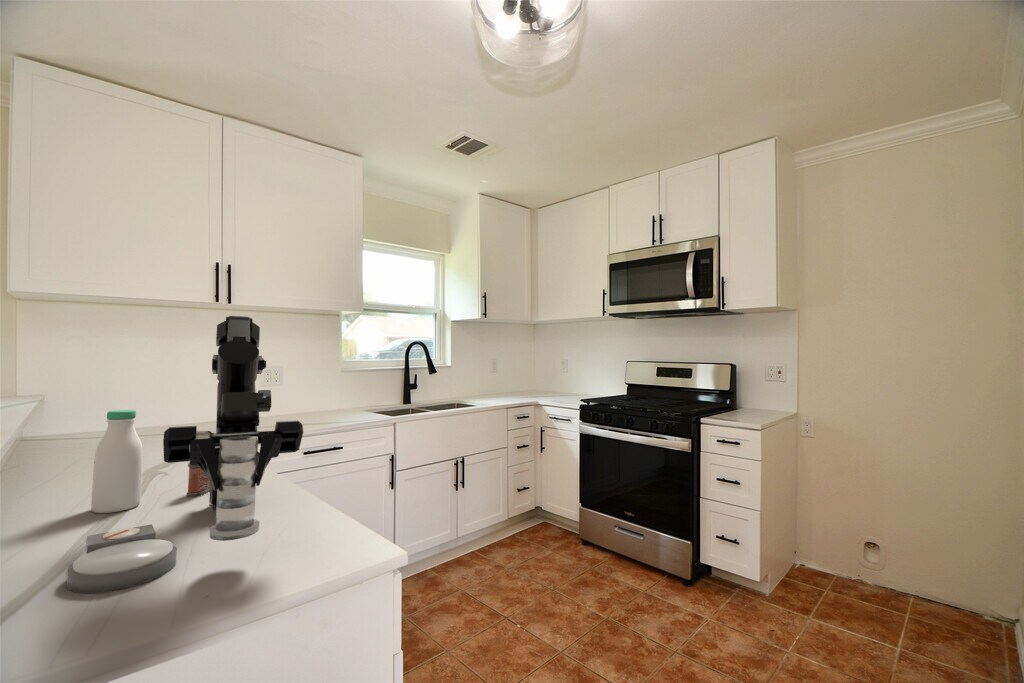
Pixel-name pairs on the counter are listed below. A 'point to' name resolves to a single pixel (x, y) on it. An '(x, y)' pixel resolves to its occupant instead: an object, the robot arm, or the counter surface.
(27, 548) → the counter surface
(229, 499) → the disc
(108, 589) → the kitchen scale
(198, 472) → the lighter
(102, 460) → the milk bottle
